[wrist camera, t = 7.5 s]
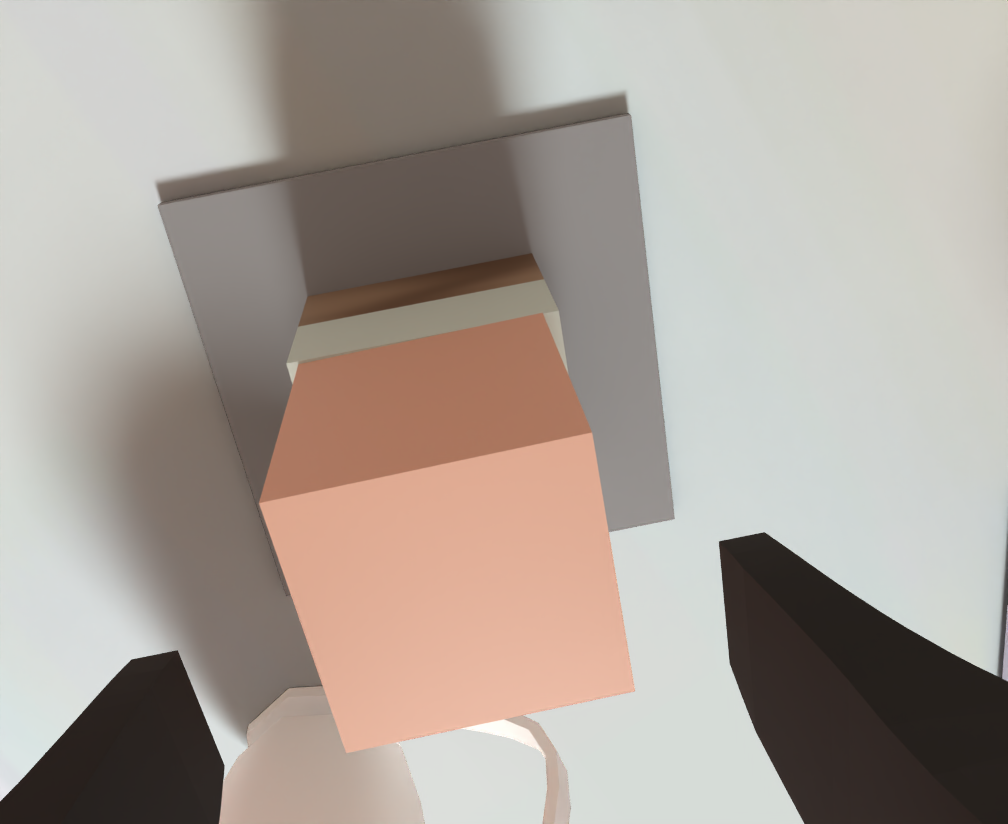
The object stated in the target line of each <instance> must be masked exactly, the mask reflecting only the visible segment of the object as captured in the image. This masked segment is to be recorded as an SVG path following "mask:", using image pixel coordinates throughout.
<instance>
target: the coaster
mask: <svg viewBox="0 0 1008 824" xmlns="http://www.w3.org/2000/svg"><path fill="white" fill-rule="evenodd" d="M158 208H159V211H160V214H161V217H162V220H163V224H164V227H165V230H166V233H167V236H168V239H169V242H170V245H171V248H172V251H173V254H174V257H175V260H176V263H177V266H178V269H179V272H180V275H181V278H182V281H183V284H184V287H185V290H186V293H187V296H188V299H189V302H190V305H191V308H192V311H193V315H194V318H195V321H196V324H197V327H198V330H199V333H200V336H201V339H202V342H203V345H204V348H205V351H206V354H207V357H208V360H209V363H210V366H211V369H212V372H213V375H214V378H215V381H216V384H217V387H218V390H219V393H220V396H221V399H222V402H223V406H224V409H225V412H226V415H227V418H228V421H229V424H230V427H231V430H232V433H233V436H234V439H235V442H236V445H237V448H238V451H239V454H240V457H241V460H242V463H243V466H244V469H245V472H246V475H247V478H248V481H249V484H250V487H251V490H252V493H253V496H254V500H255V503H256V506H257V509H258V512H259V515H260V518H261V521H262V524H263V527H264V530H265V533H266V536H267V539H268V542H269V545H270V548H271V551H272V554H273V557H274V560H275V563H276V566H277V569H278V572H279V575H280V578H281V581H282V584H283V587H284V591H285V594H286V596H288V595H291V594H290V591H289V588H288V585H287V582H286V579H285V576H284V574H283V571H282V568H281V565H280V562H279V559H278V556H277V554H276V551H275V548H274V545H273V542H272V539H271V536H270V534H269V531H268V528H267V525H266V522H265V519H264V516H263V514H262V511H261V508H260V505H259V501H260V498H261V494H262V491H263V487H264V484H265V480H266V477H267V473H268V469H269V466H270V462H271V459H272V455H273V452H274V448H275V445H276V441H277V438H278V434H279V431H280V427H281V424H282V420H283V417H284V413H285V410H286V406H287V403H288V399H289V396H290V392H291V389H292V381H291V378H290V374H289V371H288V368H287V364H286V363H287V360H288V357H289V353H290V350H291V347H292V344H293V341H294V338H295V335H296V331H297V328H298V325H299V322H300V319H301V316H302V312H303V309H304V306H305V303H306V300H307V297H308V296H313V295H318V294H323V293H329V292H334V291H339V290H344V289H349V288H354V287H360V286H365V285H370V284H375V283H380V282H385V281H391V280H396V279H401V278H406V277H411V276H417V275H422V274H427V273H432V272H437V271H442V270H448V269H453V268H458V267H463V266H468V265H473V264H479V263H484V262H489V261H494V260H499V259H504V258H510V257H515V256H520V255H525V254H530V253H532V254H533V257H534V259H535V261H536V263H537V265H538V267H539V269H540V272H541V274H542V276H543V278H544V280H545V282H546V284H547V287H548V289H549V291H550V293H551V295H552V297H553V299H554V302H555V304H556V306H557V308H558V310H559V316H560V322H561V329H562V335H563V342H564V348H565V355H566V361H567V368H568V374H569V378H570V380H571V382H572V385H573V387H574V390H575V392H576V395H577V397H578V399H579V402H580V404H581V407H582V409H583V411H584V414H585V416H586V419H587V421H588V424H589V426H590V428H591V431H592V434H593V440H594V446H595V452H596V458H597V464H598V470H599V477H600V483H601V489H602V495H603V501H604V507H605V513H606V519H607V525H608V531H609V532H612V531H617V530H622V529H627V528H632V527H637V526H642V525H647V524H652V523H657V522H662V521H667V520H672V519H675V518H674V509H673V499H672V490H671V481H670V472H669V462H668V453H667V444H666V435H665V425H664V416H663V407H662V398H661V388H660V379H659V370H658V361H657V351H656V342H655V333H654V324H653V314H652V305H651V296H650V287H649V277H648V268H647V259H646V250H645V240H644V231H643V222H642V213H641V203H640V194H639V185H638V176H637V166H636V157H635V148H634V139H633V129H632V120H631V115H630V114H628V113H627V114H622V115H616V116H611V117H606V118H601V119H595V120H590V121H585V122H580V123H574V124H569V125H564V126H559V127H554V128H548V129H543V130H538V131H533V132H527V133H522V134H517V135H512V136H507V137H501V138H496V139H491V140H486V141H480V142H475V143H470V144H465V145H460V146H454V147H449V148H444V149H439V150H433V151H428V152H423V153H418V154H413V155H407V156H402V157H397V158H392V159H386V160H381V161H376V162H371V163H365V164H360V165H355V166H350V167H345V168H339V169H334V170H329V171H324V172H318V173H313V174H308V175H303V176H298V177H292V178H287V179H282V180H277V181H271V182H266V183H261V184H256V185H251V186H245V187H240V188H235V189H230V190H224V191H219V192H214V193H209V194H204V195H198V196H193V197H188V198H183V199H177V200H172V201H167V202H162V203H160V204H159V205H158Z"/></svg>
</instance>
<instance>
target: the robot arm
mask: <svg viewBox="0 0 1008 824" xmlns="http://www.w3.org/2000/svg"><path fill="white" fill-rule="evenodd" d="M719 547H720V559H721V570H722V581H723V593H724V604H725V615H726V626H727V638H728V649H729V660H730V665H731V668H732V671H733V673H734V676H735V679H736V681H737V684H738V687H739V689H740V692H741V695H742V697H743V700H744V703H745V705H746V708H747V710H748V713H749V715H750V718H751V720H752V723H753V726H754V728H755V731H756V733H757V735H758V737H759V738H760V740H761V742H762V744H763V746H764V748H765V750H766V752H767V754H768V756H769V758H770V760H771V761H772V763H773V765H774V767H775V769H776V771H777V773H778V775H779V777H780V779H781V780H782V782H783V784H784V786H785V788H786V790H787V792H788V794H789V796H790V797H791V799H792V801H793V803H794V805H795V807H796V809H797V811H798V812H799V814H800V816H801V818H802V820H803V822H804V824H1008V607H1007V620H1006V634H1005V647H1004V661H1003V675H1002V678H1000V677H998V676H996V675H994V674H991V673H989V672H987V671H985V670H983V669H981V668H979V667H977V666H975V665H973V664H971V663H969V662H967V661H965V660H963V659H961V658H959V657H958V656H956V655H954V654H952V653H950V652H948V651H946V650H945V649H943V648H941V647H939V646H938V645H936V644H934V643H932V642H931V641H929V640H927V639H925V638H924V637H922V636H920V635H918V634H916V633H915V632H913V631H911V630H909V629H908V628H906V627H904V626H903V625H901V624H899V623H898V622H896V621H895V620H893V619H891V618H890V617H888V616H886V615H885V614H883V613H882V612H880V611H878V610H877V609H875V608H874V607H872V606H871V605H869V604H868V603H866V602H865V601H863V600H861V599H860V598H858V597H857V596H855V595H854V594H852V593H851V592H849V591H848V590H846V589H845V588H843V587H842V586H840V585H839V584H837V583H836V582H835V581H833V580H832V579H830V578H829V577H827V576H826V575H825V574H823V573H822V572H820V571H819V570H817V569H816V568H815V567H813V566H812V565H810V564H809V563H807V562H806V561H805V560H803V559H802V558H800V557H799V556H798V555H796V554H795V553H793V552H792V551H791V550H789V549H788V548H786V547H785V546H783V545H782V544H781V543H779V542H778V541H776V540H775V539H773V538H772V537H771V536H769V535H768V534H766V533H765V532H764V533H759V534H754V535H749V536H744V537H739V538H734V539H729V540H724V541H719ZM223 778H224V763H223V761H222V758H221V756H220V753H219V751H218V749H217V746H216V744H215V741H214V739H213V736H212V734H211V731H210V729H209V726H208V724H207V722H206V719H205V717H204V714H203V712H202V709H201V707H200V704H199V702H198V699H197V697H196V694H195V692H194V690H193V687H192V685H191V682H190V680H189V677H188V675H187V672H186V670H185V667H184V665H183V662H182V660H181V658H180V655H179V653H178V650H177V651H172V652H167V653H162V654H157V655H152V656H147V657H142V658H137V659H132V660H131V661H130V662H129V663H128V664H127V665H126V666H125V667H124V668H123V669H122V670H121V671H120V672H119V673H118V674H117V675H116V676H115V677H114V678H113V679H112V680H111V681H110V682H109V684H108V685H107V686H106V687H105V688H104V689H103V690H102V691H101V692H100V693H99V695H98V696H97V697H96V698H95V699H94V700H93V701H92V702H91V703H90V705H89V706H88V707H87V708H86V709H85V710H84V711H83V712H82V714H81V715H80V716H79V717H78V718H77V719H76V720H75V721H74V723H73V724H72V725H71V726H70V727H69V728H68V729H67V730H66V731H65V733H64V734H63V735H62V736H61V737H60V738H59V739H58V740H57V741H56V742H55V744H54V745H53V746H52V747H51V748H50V749H49V750H48V751H47V752H46V753H45V755H44V756H43V757H42V758H41V759H40V760H39V761H38V762H37V763H36V764H35V766H34V767H33V768H32V769H31V770H30V771H29V772H28V773H27V774H26V775H25V777H24V778H23V779H22V780H21V781H20V782H19V783H18V784H17V785H16V786H15V787H14V788H13V789H12V790H11V791H10V792H9V793H8V794H7V795H6V796H5V797H4V798H3V799H2V800H1V801H0V824H219V820H220V811H221V801H222V790H223Z"/></svg>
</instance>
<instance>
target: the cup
mask: <svg viewBox="0 0 1008 824" xmlns="http://www.w3.org/2000/svg"><path fill="white" fill-rule="evenodd" d="M462 729H468V730H474V731H479V732H485V733H490V734H494V735H499V736H503V737H508V738H512V739H514V740H517V741H519V742H521V743H524V744H526V745H528V746H531V747H533V748H535V749H538V750H540V751H541V753H542V754H543V756H544V758H545V759H546V774H547V794H546V801H545V809H544V817H543V824H569V818H570V809H571V806H570V795H569V785H568V775H567V770H566V768H565V766H564V764H563V762H562V760H561V758H560V756H559V754H558V753H557V751H556V749H555V747H554V746H553V744H552V743H551V741H550V740H549V738H548V737H547V735H546V733H545V732H544V730H543V729H542V727H541V726H540V724H539V723H537V722H535V721H533V720H531V719H529V718H527V717H525V716H523V715H522V716H517V717H512V718H508V719H503V720H498V721H494V722H489V723H484V724H480V725H475V726H471V727H466V728H462ZM247 741H248V748H247V749H246V750H245V751H244V752H243V753H242V754H241V755H240V756H238V758H237V759H236V761H235V763H234V764H233V766H232V768H231V769H230V771H229V773H228V774H227V776H226V778H225V779H224V781H223V790H222V801H221V811H220V820H219V824H425V822H424V816H423V811H422V806H421V801H420V798H419V796H418V793H417V790H416V787H415V784H414V781H413V778H412V776H411V773H410V770H409V767H408V764H407V761H406V759H405V756H404V753H403V750H402V747H401V746H400V742H396V743H391V744H387V745H382V746H377V747H373V748H368V749H363V750H359V751H354V752H349V753H346V751H345V748H344V745H343V742H342V740H341V737H340V734H339V731H338V728H337V725H336V722H335V720H334V717H333V714H332V711H331V708H330V705H329V702H328V699H327V697H326V694H325V691H324V688H323V686H316V687H299V688H289V689H288V690H286V691H285V692H284V693H283V694H282V695H281V696H280V697H279V698H278V699H277V700H275V701H274V702H273V703H272V704H271V705H270V706H269V707H268V708H267V709H266V710H264V711H263V712H262V713H261V714H260V715H259V716H258V717H257V718H256V719H255V720H253V721H252V722H251V723H250V724H249V726H248V730H247Z"/></svg>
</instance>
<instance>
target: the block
mask: <svg viewBox="0 0 1008 824" xmlns="http://www.w3.org/2000/svg"><path fill="white" fill-rule="evenodd" d="M259 505H260V508H261V511H262V514H263V516H264V519H265V522H266V525H267V528H268V531H269V534H270V536H271V539H272V542H273V545H274V548H275V551H276V554H277V556H278V559H279V562H280V565H281V568H282V571H283V574H284V576H285V579H286V582H287V585H288V588H289V591H290V594H291V597H292V599H293V602H294V605H295V608H296V611H297V614H298V617H299V619H300V622H301V625H302V628H303V631H304V634H305V637H306V639H307V642H308V645H309V648H310V651H311V654H312V657H313V659H314V662H315V665H316V668H317V671H318V674H319V677H320V679H321V682H322V685H323V688H324V691H325V694H326V697H327V699H328V702H329V705H330V708H331V711H332V714H333V717H334V720H335V722H336V725H337V728H338V731H339V734H340V737H341V740H342V742H343V745H344V748H345V751H346V753H349V752H354V751H359V750H363V749H368V748H373V747H377V746H382V745H387V744H391V743H396V742H401V741H405V740H410V739H415V738H419V737H424V736H429V735H433V734H438V733H443V732H447V731H452V730H457V729H461V728H466V727H471V726H475V725H480V724H484V723H489V722H494V721H498V720H503V719H508V718H512V717H517V716H522V715H526V714H531V713H536V712H540V711H545V710H550V709H554V708H559V707H564V706H568V705H573V704H578V703H582V702H587V701H592V700H596V699H601V698H606V697H610V696H615V695H620V694H624V693H629V692H634V691H635V688H634V682H633V676H632V670H631V664H630V658H629V652H628V646H627V640H626V634H625V628H624V622H623V615H622V609H621V603H620V597H619V591H618V585H617V579H616V573H615V567H614V561H613V555H612V549H611V543H610V537H609V531H608V525H607V519H606V513H605V507H604V501H603V495H602V489H601V483H600V477H599V470H598V464H597V458H596V452H595V446H594V440H593V434H592V431H591V428H590V426H589V424H588V421H587V419H586V416H585V414H584V411H583V409H582V407H581V404H580V402H579V399H578V397H577V395H576V392H575V390H574V387H573V385H572V382H571V380H570V378H569V375H568V373H567V370H566V368H565V366H564V363H563V361H562V358H561V356H560V354H559V351H558V349H557V346H556V344H555V341H554V339H553V337H552V334H551V332H550V329H549V327H548V325H547V322H546V320H545V317H544V315H543V313H539V314H534V315H529V316H525V317H520V318H515V319H510V320H506V321H501V322H496V323H491V324H487V325H482V326H477V327H472V328H468V329H463V330H458V331H454V332H449V333H444V334H439V335H435V336H430V337H425V338H420V339H416V340H411V341H406V342H402V343H397V344H392V345H387V346H383V347H378V348H373V349H368V350H364V351H359V352H354V353H350V354H345V355H340V356H335V357H331V358H326V359H321V360H316V361H312V362H307V363H302V364H298V368H297V371H296V375H295V378H294V382H293V385H292V389H291V392H290V396H289V399H288V403H287V406H286V410H285V413H284V417H283V420H282V424H281V427H280V431H279V434H278V438H277V441H276V445H275V448H274V452H273V455H272V459H271V462H270V466H269V469H268V473H267V477H266V480H265V484H264V487H263V491H262V494H261V498H260V501H259Z"/></svg>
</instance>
